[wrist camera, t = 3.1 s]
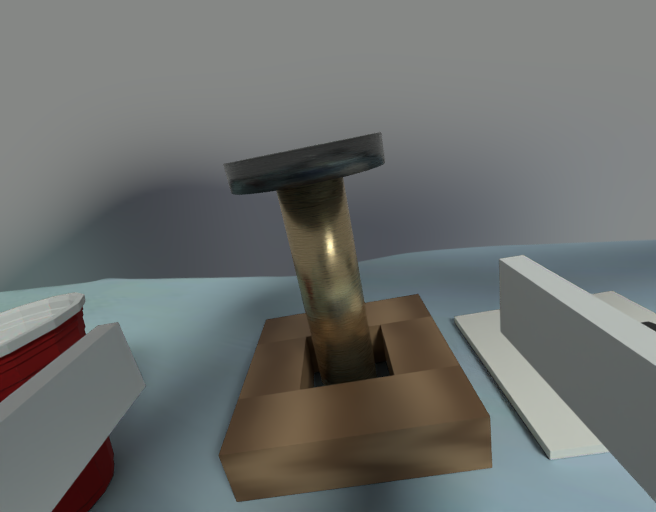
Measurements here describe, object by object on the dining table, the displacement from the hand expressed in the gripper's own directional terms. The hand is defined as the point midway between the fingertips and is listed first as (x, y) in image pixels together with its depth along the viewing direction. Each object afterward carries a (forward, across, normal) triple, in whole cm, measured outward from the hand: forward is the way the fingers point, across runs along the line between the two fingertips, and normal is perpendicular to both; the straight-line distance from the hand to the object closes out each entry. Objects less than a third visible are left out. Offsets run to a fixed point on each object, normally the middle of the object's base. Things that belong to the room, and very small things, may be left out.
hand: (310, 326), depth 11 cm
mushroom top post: (+10, 0, -12) cm, 15 cm away
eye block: (+10, 0, -12) cm, 15 cm away
